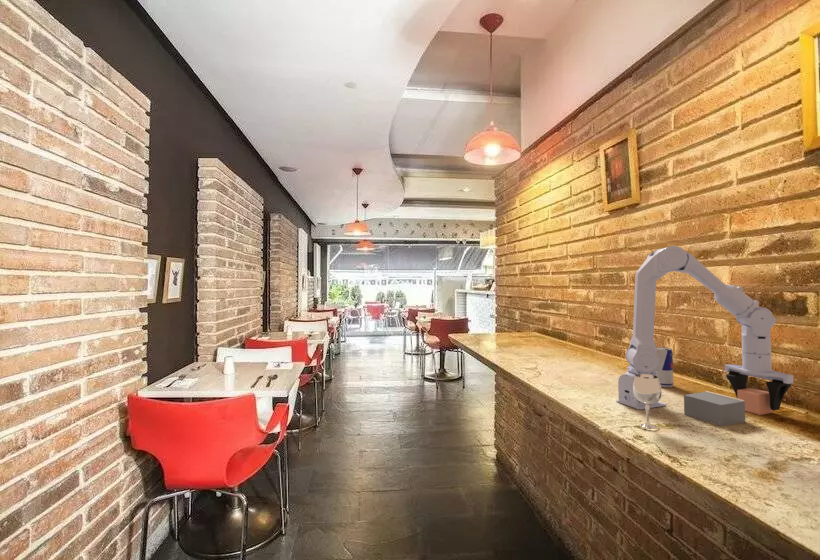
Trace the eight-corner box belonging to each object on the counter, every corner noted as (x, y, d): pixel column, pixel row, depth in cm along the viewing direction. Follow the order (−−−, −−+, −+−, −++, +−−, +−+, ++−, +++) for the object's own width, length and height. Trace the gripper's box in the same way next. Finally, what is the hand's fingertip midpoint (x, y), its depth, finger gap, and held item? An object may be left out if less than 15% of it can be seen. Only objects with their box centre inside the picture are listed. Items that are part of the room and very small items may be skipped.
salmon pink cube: (759, 414, 100) (758, 394, 100) (737, 409, 105) (737, 389, 105) (772, 412, 101) (772, 392, 101) (750, 406, 106) (750, 387, 106)
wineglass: (652, 434, 89) (651, 380, 90) (628, 426, 95) (627, 375, 95) (667, 429, 92) (666, 377, 92) (643, 421, 97) (642, 372, 97)
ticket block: (721, 426, 93) (720, 404, 93) (684, 414, 102) (683, 394, 102) (745, 422, 95) (744, 400, 95) (707, 410, 104) (706, 390, 104)
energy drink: (677, 387, 126) (676, 349, 126) (660, 387, 126) (659, 350, 127) (666, 383, 132) (665, 347, 132) (650, 383, 132) (649, 347, 132)
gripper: (801, 356, 98) (802, 411, 98) (736, 347, 112) (738, 396, 111) (781, 358, 96) (783, 415, 96) (718, 349, 109) (720, 398, 109)
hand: (757, 405), depth 103 cm, fingers open, 7 cm apart
